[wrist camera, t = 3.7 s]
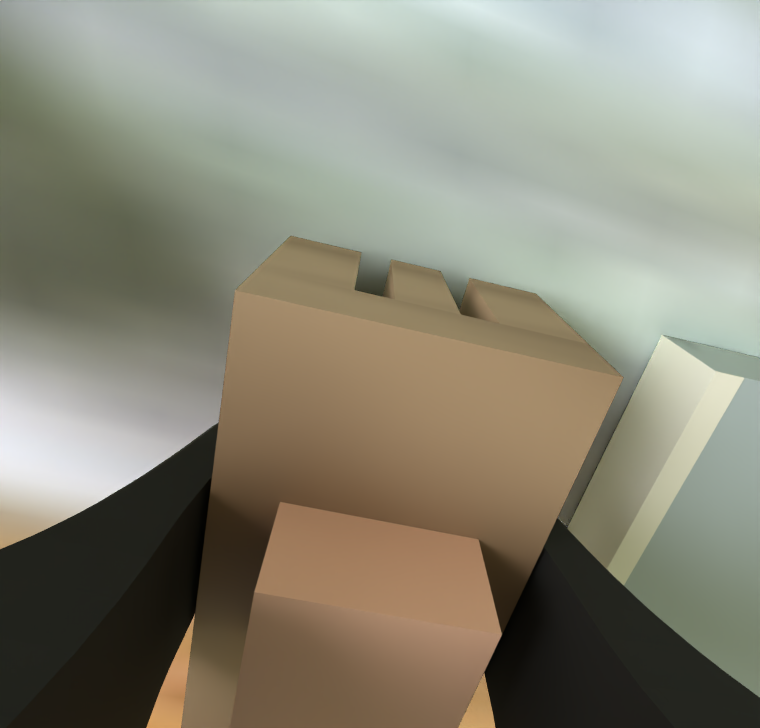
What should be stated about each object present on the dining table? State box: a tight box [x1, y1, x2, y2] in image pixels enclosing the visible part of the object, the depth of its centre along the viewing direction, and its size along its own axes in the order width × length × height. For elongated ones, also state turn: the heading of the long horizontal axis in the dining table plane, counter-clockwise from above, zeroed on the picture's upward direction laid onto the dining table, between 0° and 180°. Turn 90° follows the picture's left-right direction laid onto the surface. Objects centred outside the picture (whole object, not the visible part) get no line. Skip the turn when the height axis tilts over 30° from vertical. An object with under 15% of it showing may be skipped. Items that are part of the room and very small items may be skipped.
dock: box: [567, 335, 760, 697], centre depth 13 cm, size 12×10×2 cm
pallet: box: [181, 236, 624, 728], centre depth 10 cm, size 9×5×4 cm, turn 167°
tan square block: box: [229, 502, 502, 728], centre depth 7 cm, size 3×3×2 cm
